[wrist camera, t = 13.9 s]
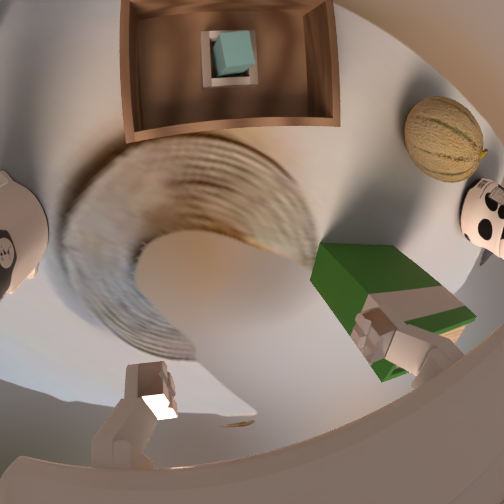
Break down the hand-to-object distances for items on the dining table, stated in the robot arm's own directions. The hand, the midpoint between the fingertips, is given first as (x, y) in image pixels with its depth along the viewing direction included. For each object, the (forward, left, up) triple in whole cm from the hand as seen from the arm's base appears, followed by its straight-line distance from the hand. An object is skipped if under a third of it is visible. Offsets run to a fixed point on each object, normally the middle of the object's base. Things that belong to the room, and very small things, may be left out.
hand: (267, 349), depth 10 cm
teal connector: (+4, +16, -29) cm, 33 cm away
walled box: (+4, +16, -30) cm, 34 cm away
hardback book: (+26, -18, -30) cm, 44 cm away
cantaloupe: (+38, +7, -30) cm, 49 cm away
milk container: (+65, -9, -30) cm, 72 cm away
